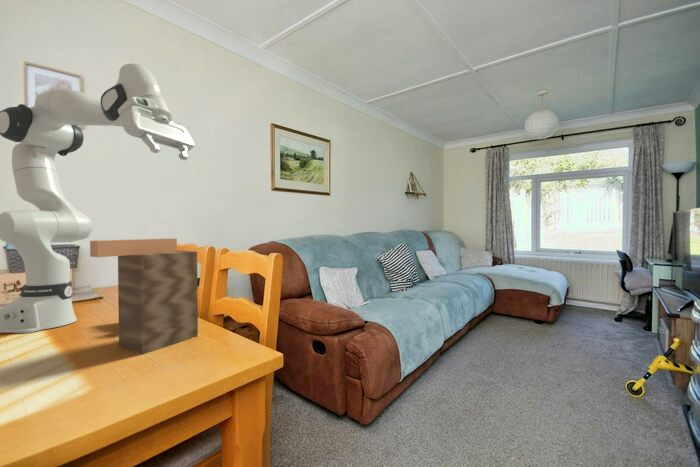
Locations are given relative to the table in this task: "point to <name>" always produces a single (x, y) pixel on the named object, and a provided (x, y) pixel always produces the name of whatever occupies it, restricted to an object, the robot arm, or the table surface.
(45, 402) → the table surface
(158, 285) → the zigzag grain wooden block
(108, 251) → the rail
